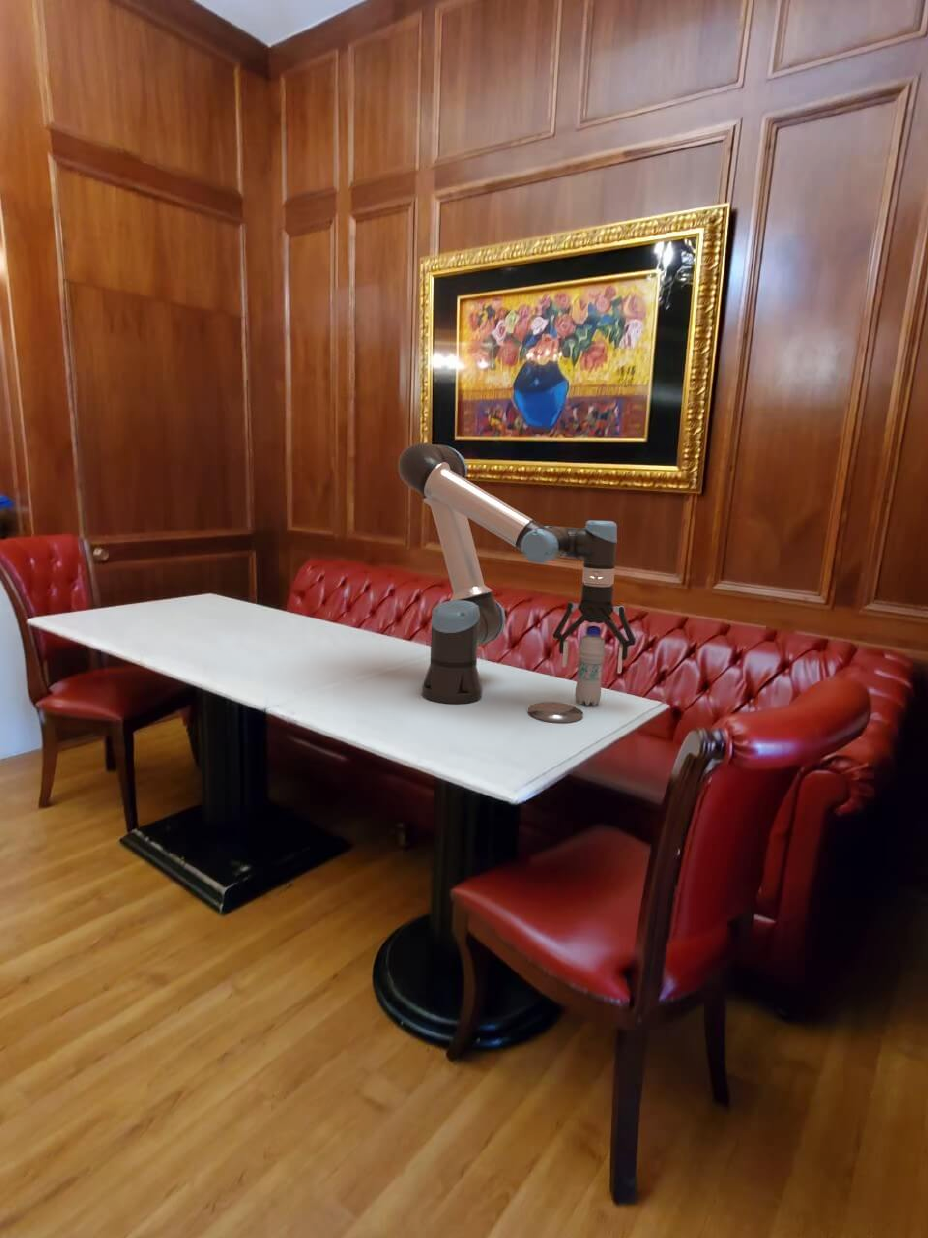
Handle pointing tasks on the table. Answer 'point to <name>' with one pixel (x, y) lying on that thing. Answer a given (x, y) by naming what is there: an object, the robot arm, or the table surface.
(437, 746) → the table surface
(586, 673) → the bottle
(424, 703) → the table surface
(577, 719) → the flange disc
